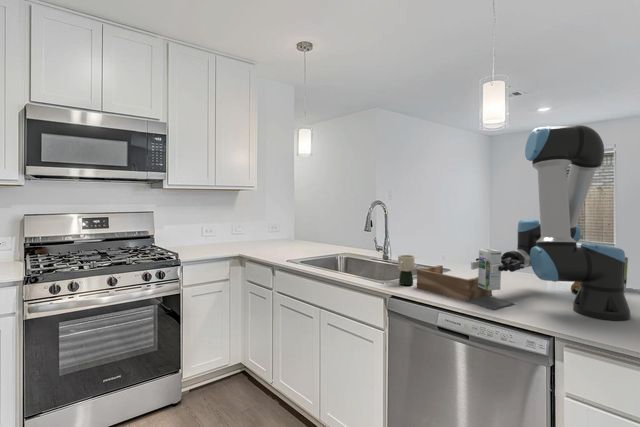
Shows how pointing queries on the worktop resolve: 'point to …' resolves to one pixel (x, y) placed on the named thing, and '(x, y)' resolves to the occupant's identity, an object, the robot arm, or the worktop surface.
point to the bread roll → (575, 287)
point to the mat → (490, 302)
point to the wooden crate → (449, 284)
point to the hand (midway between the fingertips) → (481, 267)
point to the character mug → (406, 269)
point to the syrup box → (489, 269)
